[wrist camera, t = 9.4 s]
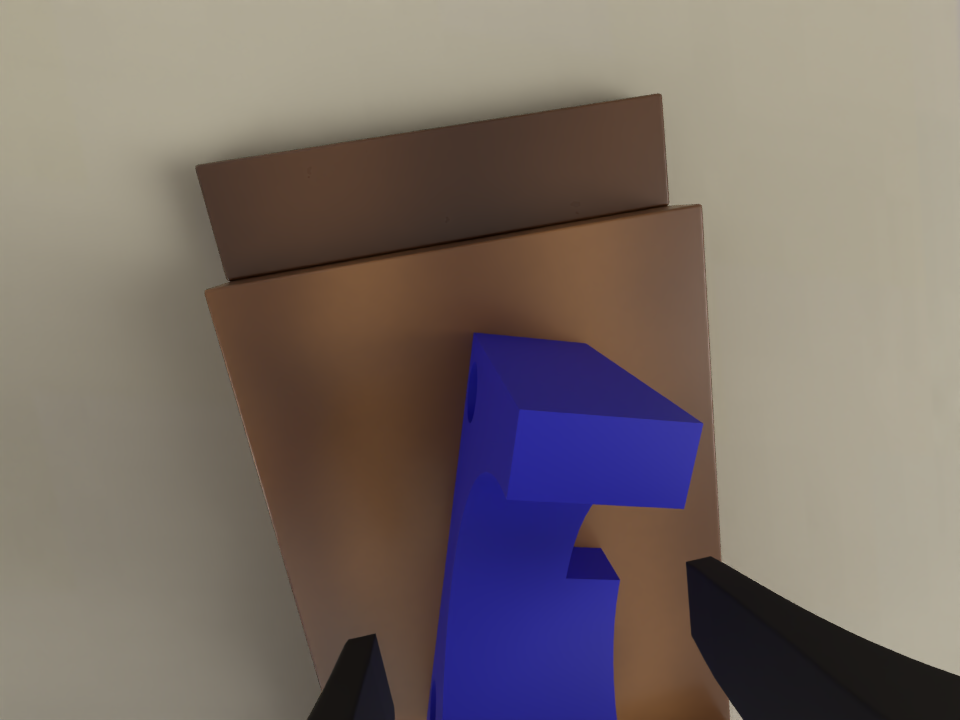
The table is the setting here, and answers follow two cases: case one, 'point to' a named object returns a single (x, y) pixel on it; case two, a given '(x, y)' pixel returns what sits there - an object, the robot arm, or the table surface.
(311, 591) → the step shelf
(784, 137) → the table surface
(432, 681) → the blue curved notched block
